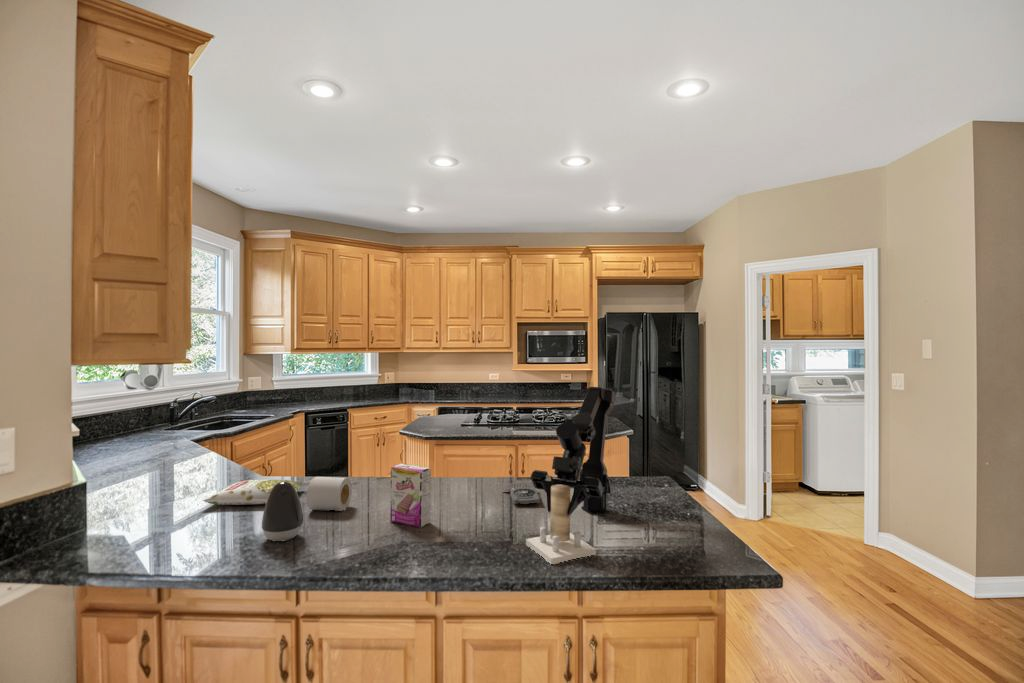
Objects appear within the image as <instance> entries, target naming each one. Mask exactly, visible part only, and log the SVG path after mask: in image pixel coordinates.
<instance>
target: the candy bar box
mask: <svg viewBox="0 0 1024 683" xmlns="http://www.w3.org/2000/svg"><path fill="white" fill-rule="evenodd" d="M389 518H390V520H389V521H390V522H392V523H395V524H396V523H397V524H400V525H404V526H405V525H407V526H411V527H415V528H416V527H417V528H423V527H425V526H426V524H427V525H428V524H430V523H431V467H426V466H421V465H419V466H418V465H413V464H406V463H398V464H396V465H392V466H391V467H390V516H389ZM424 525H425V526H424Z"/></svg>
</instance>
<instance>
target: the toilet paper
mask: <svg viewBox="0 0 1024 683" xmlns="http://www.w3.org/2000/svg"><path fill="white" fill-rule="evenodd" d="M306 491H307V492H306V504H307V507H308V508H309V509H310V510H311V509H313V510H315V511H330V510H335V512H343V511H342V510H344V509H345V508H346V507H347V508H348V507H349V506H350V502H351V500H352V492H353V487H352V481H351V479H350V478H348V477H337V476H336V477H334V476H333V477H332V476H315V477H313V478H312V479H311V481H310V482H309V485H308V488H307V490H306ZM313 510H312V511H313ZM344 511H345V510H344Z"/></svg>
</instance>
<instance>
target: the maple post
mask: <svg viewBox="0 0 1024 683" xmlns="http://www.w3.org/2000/svg"><path fill="white" fill-rule="evenodd" d="M570 502H571V487H569V486H567V485H553V486H551V511H550V531H549V532H550V534H549V535H550V538H551V539H552V540H553V536H559V542H565V541H568V540H569V539H570V533H571V515H570V516H569V515H568V508H569V505H570Z"/></svg>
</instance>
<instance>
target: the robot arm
mask: <svg viewBox="0 0 1024 683" xmlns="http://www.w3.org/2000/svg"><path fill="white" fill-rule="evenodd" d="M585 392H586V394H585V397H584V399H583V401H582V403H581V406H580V409H579V411H578V413H577V414H575V415H574V416H572V417H571V418H566V420H565V421H564V422H562V423H560V424H559V425H558V426H557V427H556V429H555V433H556V436H557V438H558V441H559V444H560V447H561V448H563V450H564V451H563V453H562V456H557V455H556V456H553V459H552V466H551V469H552V470H554V472H553V473H554V475H555V476H556V477H553V476H551V475H549V473H548V472H547V471H546V470H538V469H534V470H533V471H532V472H531V474H530V481H531V483H533V484H534V486H535V489H536V490H541V491H543V490H544V492H545V493H546V503H547V504H546V506H547V512H548V513H551V486H553V485H567V486H569V487H570V488H573V493H572V496H571V498H570V505H569V508H568V515H569V516H570V517H571V515H572V514H573V513H574V511H575V510H576V509H577V508H578V507H579V506H580V505H581V504H582V503H583V506H581V509H582V510H584V511H585V512H587V513H589V514H591V515H596V514H597V515H598V514H602V513H604V514H605V513H609V512H610V509H609V508H607V495H608V494H611V493H612V487H611V485H612V483H611V480H610V478H609V475H608V469H607V466H606V465H605V462H604V455H605V454H604V452H605V443H606V442H605V441H606V434H607V433H606V432H607V423H608V416H609V415H610V413H611V412H612V411H613V410H614V404H615V403H616V399H617V398H616V397H617V394H616V392H615V391H613V388H604V387H601V386H589V387H587V388H586V391H585ZM585 443H589V449H588V450H589V451H588V453H589V454H588V458H587V460H586V461H585V462H584V460H585V456H586V455H587V453H586V451H587V447H586V445H585Z"/></svg>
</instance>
